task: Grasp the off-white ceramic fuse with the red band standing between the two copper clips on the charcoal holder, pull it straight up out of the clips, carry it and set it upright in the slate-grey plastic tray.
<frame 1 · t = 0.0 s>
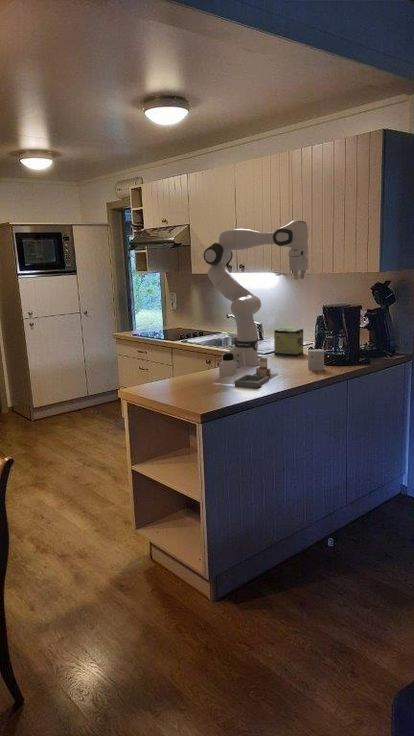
hand: (299, 279, 276), 48 cm above the table, fingers open, 8 cm apart
small box: (315, 369, 281), on the table
medicine bottle: (228, 376, 273), on the table
fuse: (263, 376, 266), point 1 cm above the table, touching clip holder
tray: (251, 384, 253), on the table
clip holder: (263, 377, 266), on the table
protein box: (288, 354, 326), on the table
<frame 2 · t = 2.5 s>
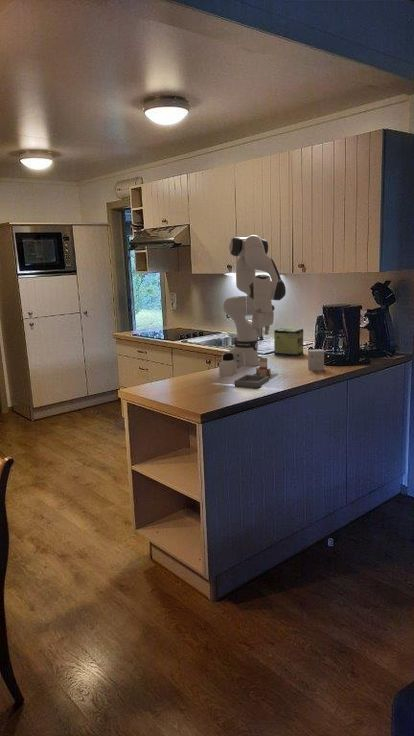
hand: (263, 335, 261), 22 cm above the table, fingers open, 8 cm apart
nothing on the table moved.
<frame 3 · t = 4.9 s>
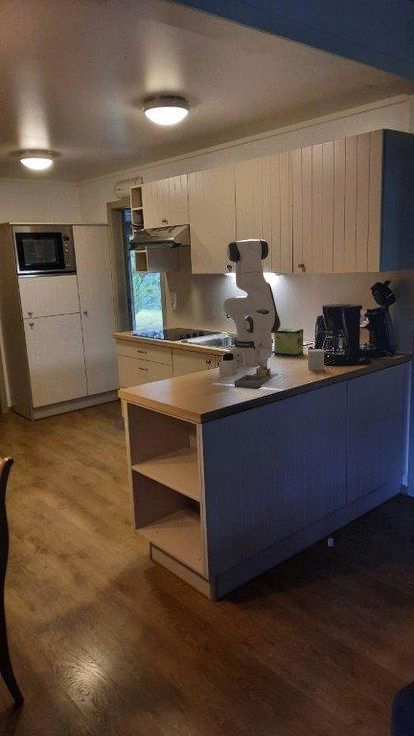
hand: (263, 369, 265), 5 cm above the table, fingers closed on fuse, 4 cm apart
fuse: (263, 376, 266), point 1 cm above the table, touching clip holder, gripper
everything else where it was.
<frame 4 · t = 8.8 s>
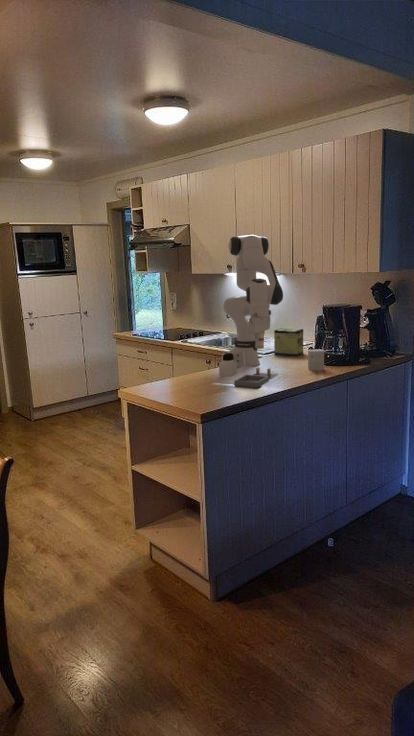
hand: (259, 340, 256), 20 cm above the table, fingers closed on fuse, 4 cm apart
fuse: (259, 348, 257), point 16 cm above the table, touching gripper
everything else where it was.
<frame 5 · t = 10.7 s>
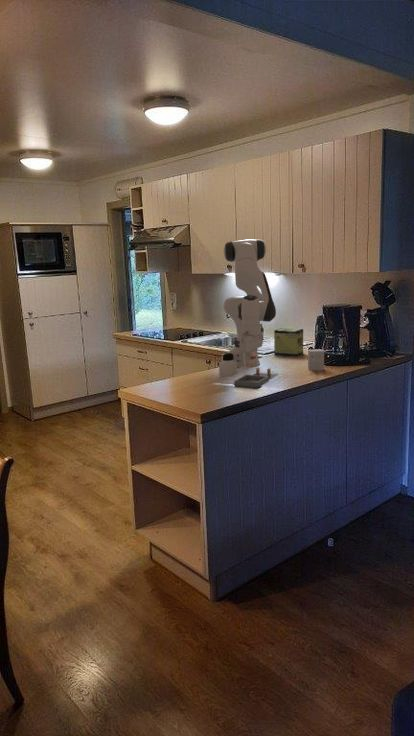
hand: (251, 359, 250), 13 cm above the table, fingers closed on fuse, 4 cm apart
fuse: (251, 366, 251), point 9 cm above the table, touching gripper
everything else where it was.
when the fingers open (7 cm above the table, at t = 12.5 s): fuse drops 2 cm, resting on tray.
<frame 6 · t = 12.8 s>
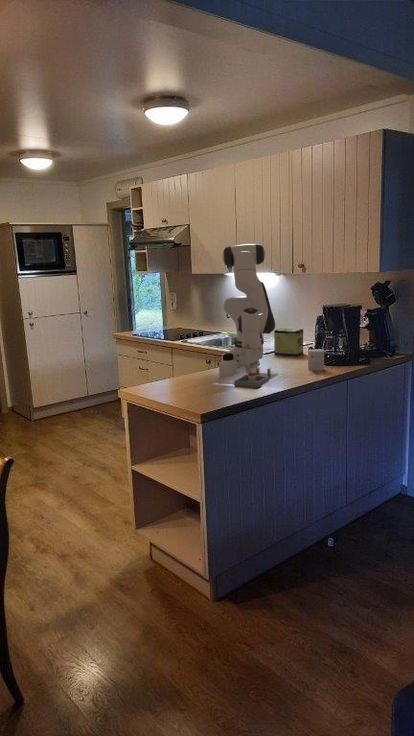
hand: (251, 371, 252), 7 cm above the table, fingers open, 7 cm apart
fuse: (252, 382, 253), point 1 cm above the table, touching tray
everything else where it was.
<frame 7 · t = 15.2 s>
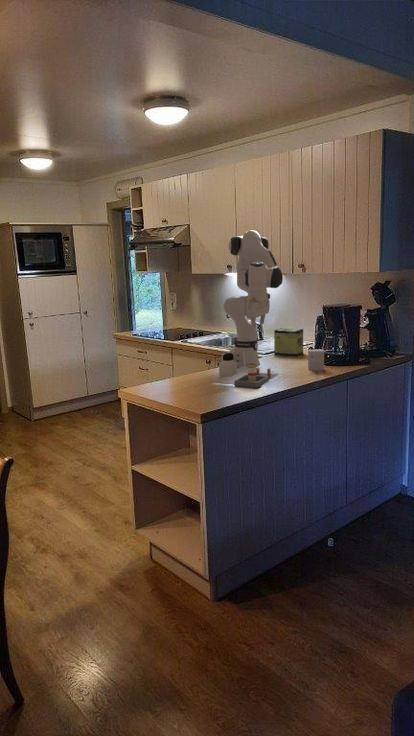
hand: (258, 325, 253), 28 cm above the table, fingers open, 8 cm apart
nothing on the table moved.
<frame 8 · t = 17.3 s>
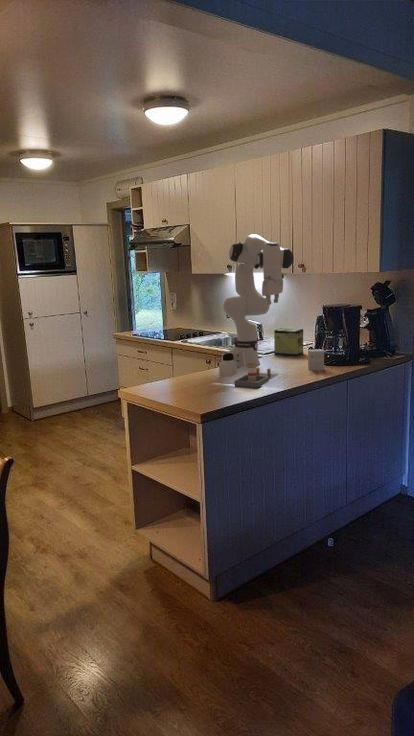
hand: (272, 303, 262), 37 cm above the table, fingers open, 8 cm apart
nothing on the table moved.
at the end: fuse inside the target area on the tray (0.1 cm from its centre), point 1.0 cm above the tray's base; the gripper is holding nothing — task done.
